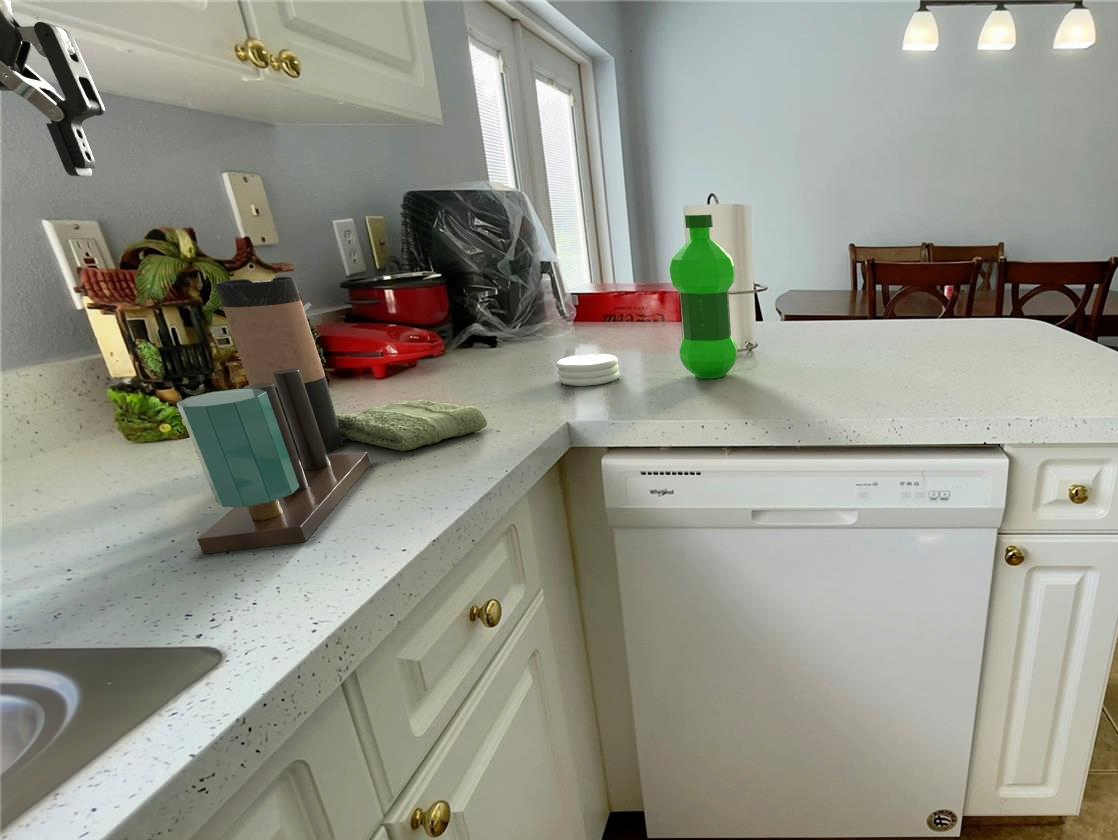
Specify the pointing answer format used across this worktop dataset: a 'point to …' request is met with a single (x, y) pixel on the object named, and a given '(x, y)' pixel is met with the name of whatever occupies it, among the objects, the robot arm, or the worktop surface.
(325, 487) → the drying rack
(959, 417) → the worktop surface
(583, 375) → the white stacked discs
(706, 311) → the plastic bottle
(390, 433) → the washcloth
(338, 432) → the travel mug
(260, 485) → the teal octagonal prism
